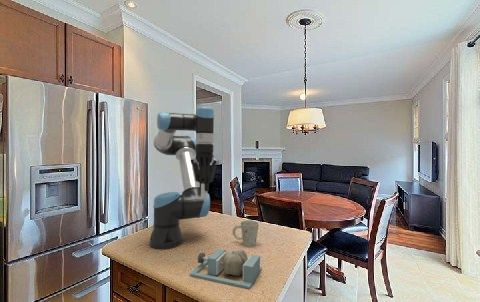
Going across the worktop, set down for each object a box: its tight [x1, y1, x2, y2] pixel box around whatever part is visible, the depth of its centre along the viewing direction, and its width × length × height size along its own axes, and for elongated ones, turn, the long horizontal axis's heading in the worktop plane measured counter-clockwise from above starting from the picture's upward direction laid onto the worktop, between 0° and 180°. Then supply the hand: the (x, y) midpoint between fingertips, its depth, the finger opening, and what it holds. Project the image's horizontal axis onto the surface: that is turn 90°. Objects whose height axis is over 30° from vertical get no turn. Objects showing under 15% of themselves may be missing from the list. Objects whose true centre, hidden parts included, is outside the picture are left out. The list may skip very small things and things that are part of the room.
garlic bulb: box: [220, 248, 249, 277], centre depth 88 cm, size 9×8×10 cm
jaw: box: [197, 248, 228, 277], centre depth 91 cm, size 9×9×6 cm
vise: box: [189, 254, 263, 290], centre depth 89 cm, size 22×14×6 cm, turn 69°
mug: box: [232, 220, 260, 247], centre depth 116 cm, size 8×13×10 cm, turn 78°
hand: (204, 198), depth 105 cm, fingers closed
